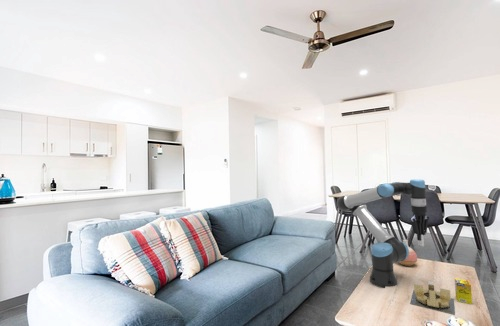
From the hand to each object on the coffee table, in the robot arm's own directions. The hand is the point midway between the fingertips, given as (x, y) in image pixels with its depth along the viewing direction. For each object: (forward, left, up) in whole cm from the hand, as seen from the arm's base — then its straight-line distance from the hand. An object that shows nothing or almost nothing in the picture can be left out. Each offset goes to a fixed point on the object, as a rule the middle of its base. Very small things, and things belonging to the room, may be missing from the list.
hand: (421, 245), depth 151 cm
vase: (-12, +35, -25) cm, 45 cm away
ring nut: (+5, -19, -23) cm, 30 cm away
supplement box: (+18, -9, -25) cm, 32 cm away
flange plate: (+5, -19, -24) cm, 31 cm away
